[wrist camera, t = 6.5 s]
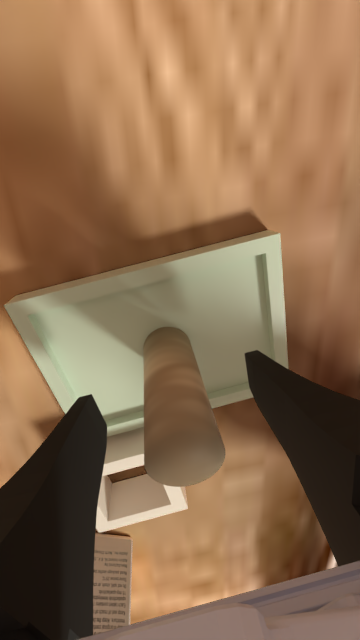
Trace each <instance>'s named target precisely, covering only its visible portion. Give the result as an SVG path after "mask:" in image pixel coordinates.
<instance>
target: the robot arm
mask: <svg viewBox="0 0 360 640" xmlns="http://www.w3.org/2000/svg"><path fill="white" fill-rule="evenodd" d="M244 354H245V361H246V368H247V375H248V382H249V388H250V390H251V392H252V395H253V397H254V399H255V401H256V403H257V406H258V407H259V409H260V411H261V412H262V414H263V416H264V417H265V419H266V421H267V422H268V424H269V426H270V427H271V429H272V431H273V432H274V434H275V435H276V437H277V439H278V440H279V442H280V444H281V445H282V447H283V449H284V450H285V452H286V454H287V456H288V458H289V459H290V461H291V464H292V466H293V468H294V470H295V472H296V474H297V476H298V478H299V480H300V482H301V484H302V486H303V488H304V491H305V493H306V495H307V497H308V499H309V501H310V503H311V505H312V508H313V510H314V512H315V514H316V516H317V519H318V521H319V523H320V525H321V527H322V530H323V532H324V534H325V536H326V539H327V541H328V543H329V545H330V548H331V550H332V552H333V555H334V557H335V559H336V562H337V564H338V566H339V567H335V568H332V569H328V570H324V571H321V572H317V573H314V574H310V575H307V576H303V577H299V578H296V579H292V580H289V581H285V582H281V583H278V584H274V585H271V586H267V587H264V588H260V589H256V590H253V591H249V592H246V593H242V594H238V595H235V596H231V597H228V598H224V599H221V600H217V601H213V602H210V603H206V604H203V605H199V606H196V607H192V608H188V609H185V610H181V611H178V612H174V613H170V614H167V615H163V616H160V617H156V618H153V619H149V620H145V621H142V622H138V623H135V624H131V625H127V626H124V627H120V628H117V629H113V630H110V631H106V632H102V633H99V634H95V635H93V582H94V551H95V531H96V516H97V505H98V498H99V492H100V485H101V479H102V473H103V467H104V461H105V455H106V448H107V424H106V422H105V420H104V418H103V416H102V414H101V412H100V410H99V408H98V406H97V404H96V402H95V400H94V398H93V395H92V394H90V395H86V396H82V397H79V398H78V399H77V400H76V401H75V403H74V404H73V405H72V406H71V408H70V409H69V410H68V412H67V413H66V414H65V416H64V417H63V418H62V420H61V421H60V422H59V423H58V425H57V426H56V427H55V429H54V430H53V431H52V433H51V434H50V435H49V436H48V437H47V439H46V440H45V441H44V442H43V443H42V445H41V446H40V447H39V448H38V449H37V451H36V452H35V453H34V454H33V455H32V456H31V458H30V459H29V460H28V461H27V462H26V463H25V464H24V465H23V466H22V467H21V468H20V469H19V470H18V471H17V473H16V474H15V475H14V476H13V477H12V478H11V479H10V480H9V481H8V482H7V483H5V484H4V485H3V486H2V487H1V488H0V640H360V400H357V399H354V398H351V397H348V396H345V395H342V394H340V393H337V392H334V391H332V390H330V389H327V388H325V387H322V386H320V385H318V384H316V383H314V382H312V381H310V380H308V379H306V378H304V377H302V376H300V375H298V374H296V373H294V372H292V371H291V370H289V369H287V368H285V367H284V366H282V365H280V364H279V363H277V362H276V361H274V360H272V359H271V358H269V357H268V356H266V355H265V354H263V353H261V352H260V351H258V350H255V351H251V352H247V353H244Z"/></svg>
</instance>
